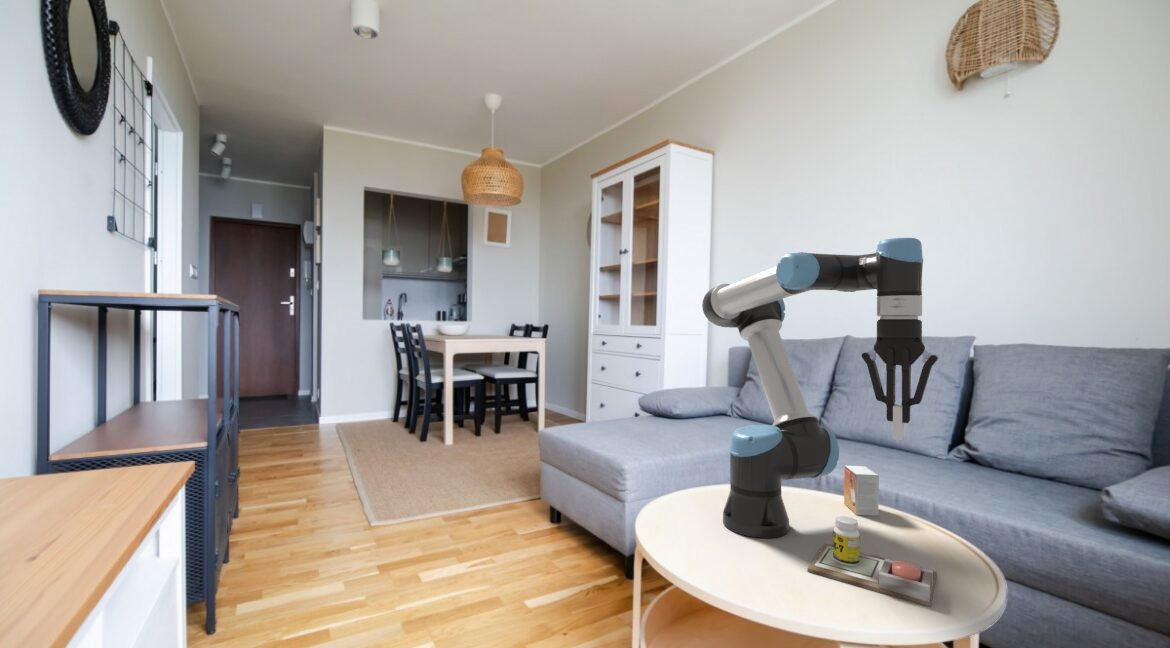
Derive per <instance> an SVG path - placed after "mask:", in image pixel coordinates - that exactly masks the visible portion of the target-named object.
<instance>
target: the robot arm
mask: <svg viewBox="0 0 1170 648" xmlns="http://www.w3.org/2000/svg"><path fill="white" fill-rule="evenodd" d="M876 248H877V249H876V251H875V252H872V253H868V254H867V253H865V254H859V255H858V254H856V255H855V254H835V253H833V254H830V253H815V252H814V253H813V252H812V253H811V252H804V251H799V252H789V253H786V254H784V255H782V257H781V258H780V260H778V262H777V265H776V266H772V267H770V268H768V269H766V270H763V271H761V272H758V273H755V274H752V275H751V276H748V277H745V278H743V279H741V280H739V281H736V282H733V283H731V284H730V283H722V284H719V285H716V286H714V287H712V288H711V289H709V290H708V291H707V292H706V293H705V294H704V297H703V299H702V303H701V305H702V311H703V314H704V316H705V318H706V319H707V320H708V321H709V322H711V323H712V324H713V325H716V326H717V327H721V328H737V330H738V332H739V335H740V337H741V339H743V340H745V341H746V342H747V343H748V345H749V349H750V352H751V354H752V357H753V358H752V359H753V360H754V363H755V366H756V369H757V370H756V371H757V373H758V376H759V378H760V381H761V385H762V388H763V391H764V393H765V397H766V399H767V403H768V406H769V409H770V412H771V414H772V415H771V416H772V418H773V423H772V424H750V425H745V426H741V427H738V428H736V429H735V430H734V431H733V432H732V434H731V435H730V444H729V453H730V457H729V458H730V460H729V462H730V465H729V466H730V468H729V470H730V471H729V473H730V475H729V476H730V478H729V479H730V484H729V485H730V488H729V489H730V491H729V494H728V497H727V499H726V502H725V505H724V508H723V511H722V523H723V525H724V526H725V527H726V528H727V529H728V530H730V531H732V532H733V533H737V534H739V535H743V536H747V537H753V538H758V539H759V538H761V539H771V538H772V539H773V538H780V537H783V536H785V535H787V534H788V533H789V532H790V519H789V515H788V512H787V508H786V506H785V503H784V500H783V497H782V481H788V480H789V481H790V480H797V479H798V480H799V479H816V478H818V477H824V476H826V475H830V474H831V473H832V472H833V471H835V469H836V468H837V465H838V462H839V459H840V447H839V441H838V439H837V437H836V435H835V434H834V433H833V432H832V431H830V429H828V428H826V427H822V426H821V424H820V422H819V421H820V420H819V419H818V417H817V416H816V415H814V414H812V413H810V412H809V410H808V408H807V405H806V402H805V399H804V397H803V394H802V390H801V388H800V386H799V383H798V381H797V377H796V375H795V372H794V369H793V367H792V364H791V361H790V358H789V356H788V352H787V350H786V347H785V344H784V342H783V339H782V336H781V334H780V330H781V329H782V327H783V321H784V320H785V317H786V313H785V311H786V304H785V302H784V299H787V298H788V297H792V296H796V295H799V294H802V293H806V292H809V291H836V292H843V293H844V292H845V293H846V292H847V293H849V292H850V293H854V292H858V291H859V292H861V291H869V290H876V292H877V293H876V296H877V297H876V316H877V317H880V318H879V319H877V321H876V341H875V343H874V344H873V348H872V349H869V350H868V351H866V352H862V353H861V358H862V359H863V361H864V362H865V364H866V365H867V369H868V373H869V377H870V381H871V384H872V389H873V392H874V397H875V399H876V401H878V402H880V403H881V402H882V403H884V404H885V405H886V420H887V422H892V440H894V441H903V439H904V436H905V435H904V433H905V432H904V429H905V428H904V424H909V423H910V421H911V407H912V406H914V405H920V404H921V403H922V401H923V398H924V393H925V391H926V387H927V384H928V380H929V377H930V374H931V371H932V367H933V366H934V365H935V364H936V362H937V361H938V360H939V356H938V355H937V354H933V353H931V352H929V351H928V350H927V349H926V346H925V345H924V343H923V321H921V319H919V317H922V316H923V292H922V291H923V290H922V289H923V288H922V287H923V283H922V282H923V268H924V267H923V265H924V257H923V246H922V242H921V241H920V239H918V238H916V237H915V238H914V237H893V238H886V239H883V240H880V241H879V242H878V243H877V246H876ZM877 356H878V357H879V358H880V359H881V360H882V361H883V363H884V364H885V365H886V366H885V370H886V377H885V378H886V381H885V382H886V387H885V388H886V393H885V392H884V389H883V385H882V381H881V378H880V377H881V376H880V373H879V370H878V366H877V363H876V361H875V360H876V359H877ZM921 356H922V362H923V366H922V369H921V372H920V375H919V379H918V382H917V386H916V389H915V392H914V395H913V397H911V395H912V393H911V391H912V389H911V388H912V385H911V383H912V378H911V374H912V373H911V372H912V365H913V364H915V362H916V361H917V360H918V359H919V358H920V357H921ZM897 366H900V367H901V404H898V403H896V369H897ZM885 394H886V395H885Z"/></svg>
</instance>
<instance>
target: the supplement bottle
mask: <svg viewBox="0 0 1170 648" xmlns="http://www.w3.org/2000/svg"><path fill="white" fill-rule="evenodd" d="M834 525H835V526H834V527H833V530H832V533H833V535H832V538H833V539H832V541H833V543H832V545H833V558H834V560H835V561H836V562H838V563H839V564H842V565H845V566H857V565H859V563H860V552H861V550H860V549H861V548H860V547H861V544H860V543H861V541H860V539H861V538H860V537H861V536H860V535H861V534H860V530H858V529H859V528H858V527H859V523H858V520H857V519H856V518H854V517H849V516H846V515H845V516H844V515H838V516H836V517H835V518H834Z"/></svg>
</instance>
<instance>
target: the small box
mask: <svg viewBox="0 0 1170 648" xmlns="http://www.w3.org/2000/svg"><path fill="white" fill-rule="evenodd" d="M843 475H844V479H843V480H844V481H843V482H844V483H843V484H844V485H843V486H844V487H843V488H844V489H843V490H844V491H843V492H844V493H843V504H844V505H846V506H847V507H848V509H849V510H850V511H851V512H852V513H853V514H854V515H855V516H870V517H871V516H872V517H879V505H880V504H879V502H880V501H879V500H880V499H879V498H880V497H879V496H880V491H879V490H880V489H879V487H880V485H879V484H880V482H879V481H880V476H879V474H878V473H875V471H873V470H871V469H870V468H868V466H865V465H862V466H861V465H844V474H843Z"/></svg>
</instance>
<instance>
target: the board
mask: <svg viewBox="0 0 1170 648" xmlns="http://www.w3.org/2000/svg"><path fill="white" fill-rule="evenodd" d="M894 561H895V560H893V559H888V558H885V557H880V556H876V555H873V554H869V553H866V552H861V551H860V563H859V565H857V566H845V565H842V564H839V563H838V562H836V561H835V560H834V558H833V544H829V543H824V544H823V545H822V547H821V548H820V549H819V551H818V552H817V554H816V556H815V557H814V558H813V559H812V561H811V562H810V563H809V565H808V567H807V570H806V571H807V572H808V573H812V574H816V575H818V576H822V577H826V578H829V579H833V580H835V581H839V582H843V583H846V584H850V585H853V586H857V587H860V588H864V589H867V590H871V591H874V592H877V593H880V594H884V595H887V596H891V597H893V598H894V597H895V598H897V599H901V600H904V601H908V602H912V603H916V604H919V605H922V606H925V607H930V608H931V607H932V600H933V597H934V590H935V586H936V582H937V581H936V579H937V575H938V574H937V573H938V571H936V570H933V569H929V568H924V567H919V566H918V567H919V568H920V582H918V581H914V580H910V579H906V578H903V577H899V576H895V575H892V562H894Z"/></svg>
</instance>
